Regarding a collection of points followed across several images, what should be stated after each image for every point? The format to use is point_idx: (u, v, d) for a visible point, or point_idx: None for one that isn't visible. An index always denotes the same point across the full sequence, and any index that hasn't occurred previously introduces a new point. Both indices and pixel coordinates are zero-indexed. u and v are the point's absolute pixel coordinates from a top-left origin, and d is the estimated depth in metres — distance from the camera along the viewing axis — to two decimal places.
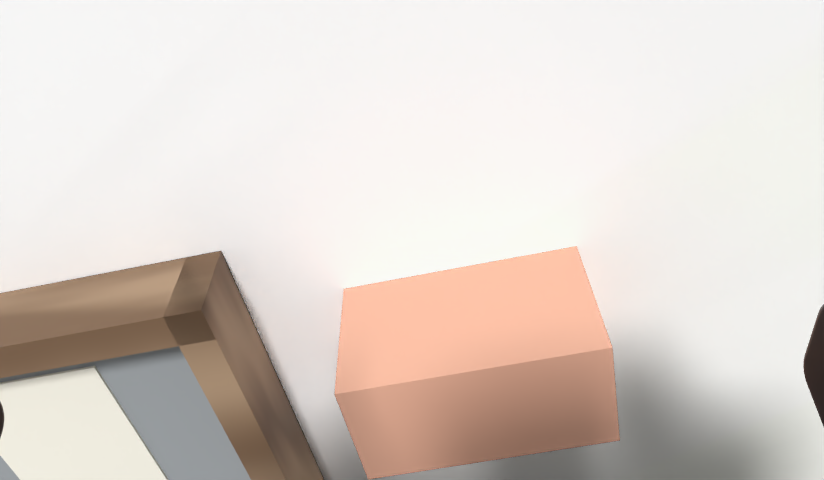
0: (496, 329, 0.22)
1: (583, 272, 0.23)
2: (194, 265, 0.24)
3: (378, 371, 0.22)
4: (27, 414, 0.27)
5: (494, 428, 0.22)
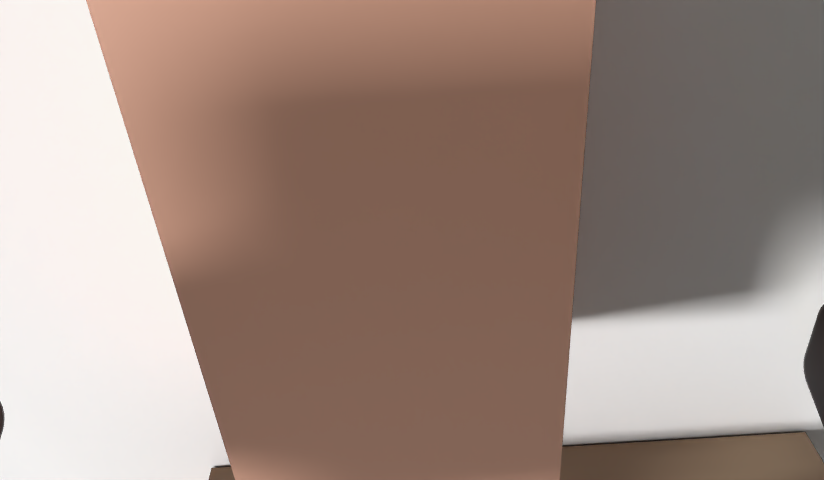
0: None
1: None
2: None
3: None
4: None
5: (432, 331, 0.08)
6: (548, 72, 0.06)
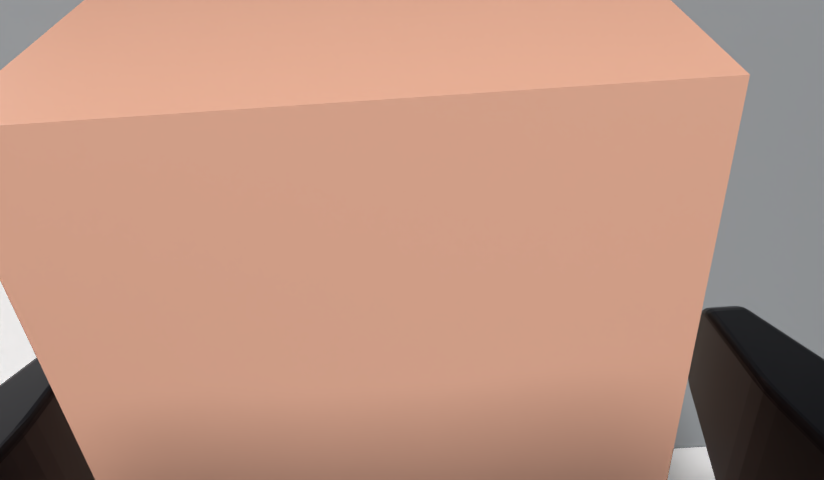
0: None
1: None
2: None
3: None
4: None
5: None
6: (653, 236, 0.04)
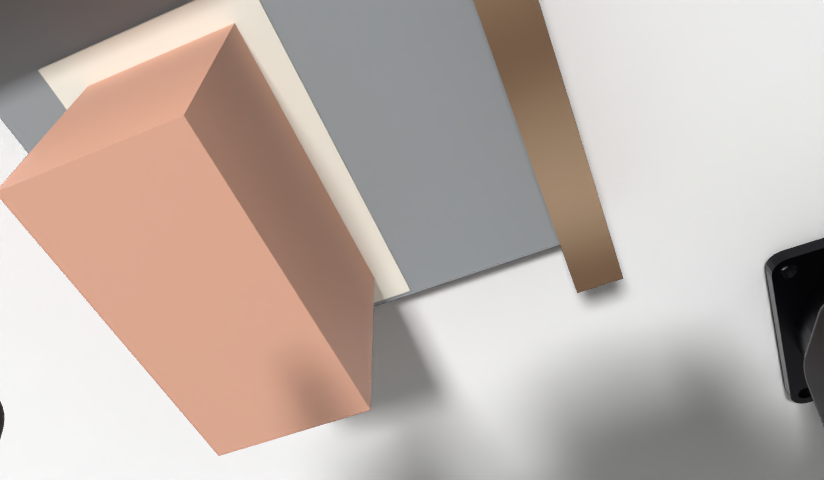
0: None
1: None
2: None
3: None
4: None
5: (219, 295, 0.15)
6: (193, 165, 0.13)
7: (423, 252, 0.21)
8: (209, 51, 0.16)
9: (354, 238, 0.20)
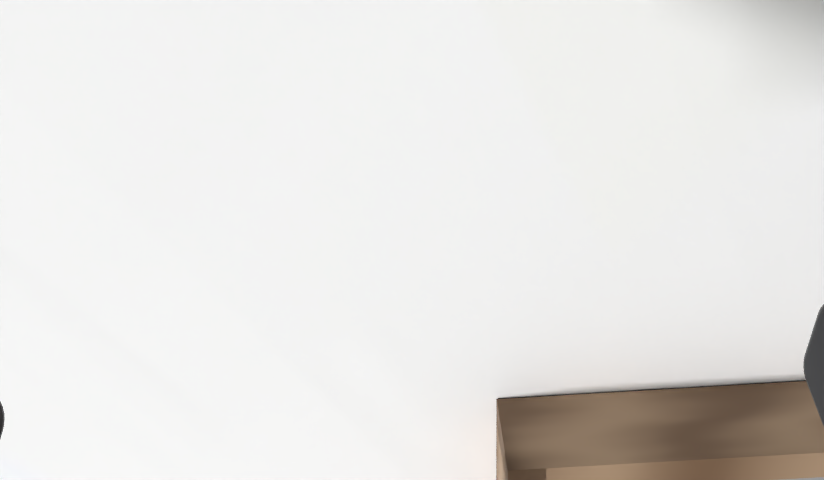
0: None
1: None
2: (498, 427, 0.25)
3: None
4: None
5: None
6: None
7: None
8: None
9: None
